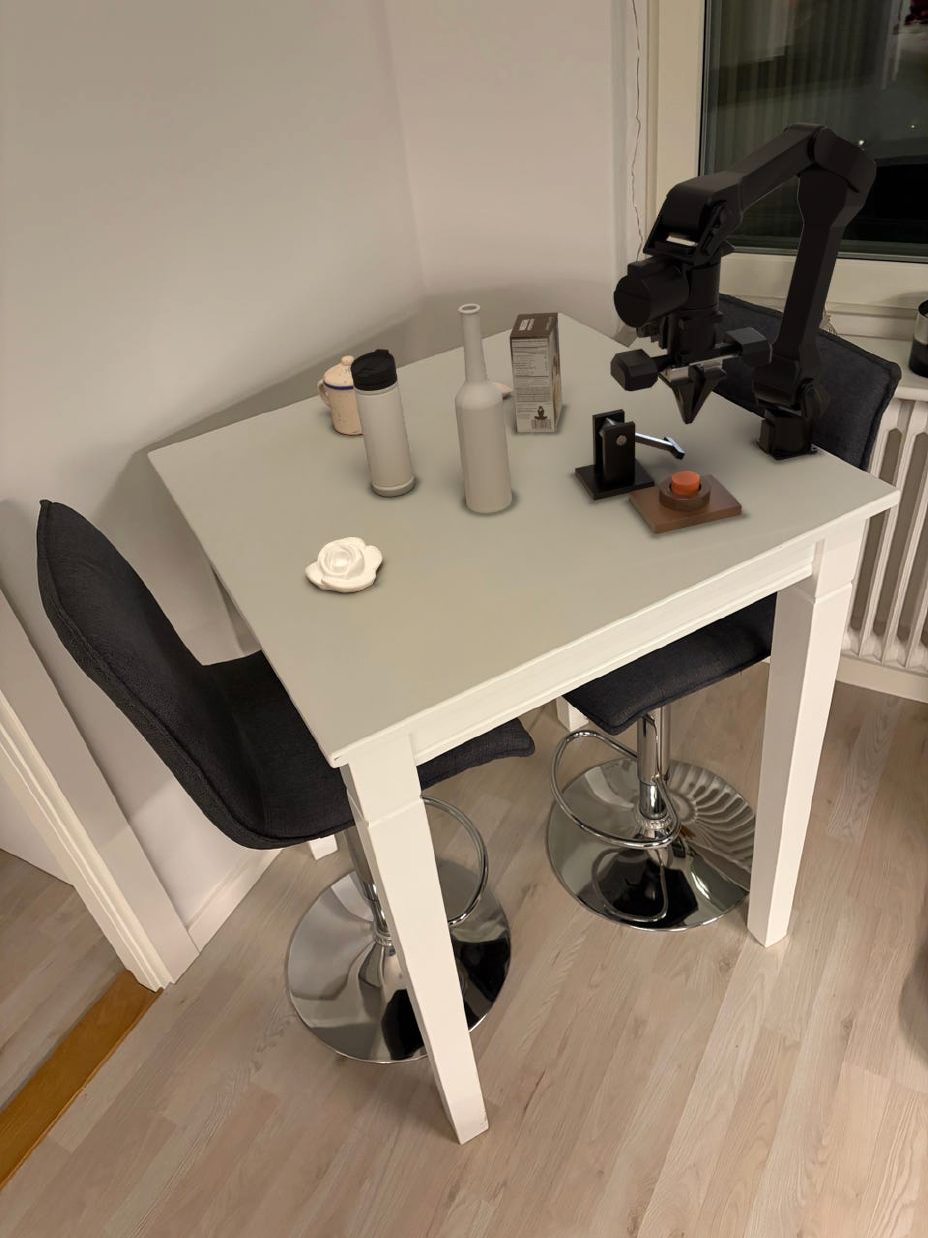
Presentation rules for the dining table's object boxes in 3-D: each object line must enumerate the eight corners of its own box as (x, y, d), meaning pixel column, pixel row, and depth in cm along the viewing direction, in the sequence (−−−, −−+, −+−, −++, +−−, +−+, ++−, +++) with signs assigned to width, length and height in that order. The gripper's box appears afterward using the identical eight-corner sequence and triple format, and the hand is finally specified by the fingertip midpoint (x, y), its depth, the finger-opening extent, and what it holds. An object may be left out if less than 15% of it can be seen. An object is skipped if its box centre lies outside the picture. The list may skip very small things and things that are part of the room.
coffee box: (524, 407, 154) (517, 312, 144) (563, 407, 153) (558, 310, 143) (516, 433, 147) (508, 335, 137) (556, 433, 146) (551, 334, 136)
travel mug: (423, 477, 139) (403, 349, 127) (403, 499, 135) (380, 369, 123) (386, 472, 142) (364, 346, 129) (365, 494, 137) (340, 366, 125)
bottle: (488, 484, 136) (468, 294, 118) (521, 498, 132) (506, 303, 114) (456, 504, 132) (431, 311, 115) (489, 519, 128) (469, 321, 111)
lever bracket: (633, 462, 136) (634, 400, 130) (654, 488, 130) (656, 424, 124) (575, 475, 135) (572, 413, 129) (593, 502, 129) (592, 438, 123)
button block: (711, 484, 129) (712, 461, 127) (741, 516, 122) (743, 493, 120) (629, 502, 128) (629, 480, 126) (655, 535, 121) (655, 512, 119)
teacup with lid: (397, 415, 157) (386, 349, 150) (366, 439, 151) (353, 372, 144) (340, 406, 162) (326, 341, 155) (308, 429, 156) (293, 363, 149)
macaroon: (485, 392, 160) (484, 379, 159) (514, 391, 159) (513, 377, 158) (482, 404, 157) (481, 390, 155) (512, 402, 156) (511, 389, 154)
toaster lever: (665, 448, 134) (673, 433, 133) (679, 464, 130) (687, 449, 129) (595, 428, 130) (602, 413, 128) (607, 444, 126) (615, 428, 124)
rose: (364, 516, 124) (389, 551, 117) (370, 544, 127) (394, 580, 119) (292, 539, 121) (313, 577, 114) (300, 567, 124) (321, 605, 117)
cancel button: (692, 480, 125) (692, 468, 124) (703, 492, 122) (704, 481, 121) (666, 485, 124) (667, 474, 123) (677, 498, 122) (678, 487, 120)
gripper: (736, 267, 116) (727, 384, 125) (594, 293, 114) (596, 410, 123) (780, 294, 107) (767, 418, 117) (627, 324, 105) (626, 447, 115)
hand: (687, 422), depth 118 cm, fingers closed
